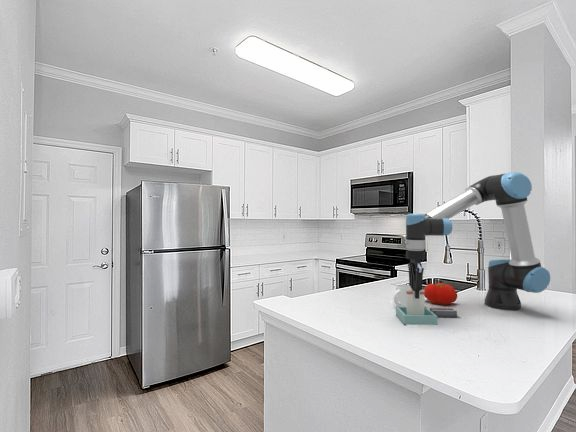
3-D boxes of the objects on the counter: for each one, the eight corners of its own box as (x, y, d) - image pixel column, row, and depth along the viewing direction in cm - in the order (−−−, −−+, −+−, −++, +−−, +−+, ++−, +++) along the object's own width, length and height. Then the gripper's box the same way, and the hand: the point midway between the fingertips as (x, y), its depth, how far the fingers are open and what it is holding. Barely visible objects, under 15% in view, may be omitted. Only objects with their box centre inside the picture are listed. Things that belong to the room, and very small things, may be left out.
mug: (400, 311, 150) (400, 289, 150) (387, 307, 157) (387, 286, 157) (417, 308, 156) (417, 286, 156) (404, 304, 163) (403, 283, 163)
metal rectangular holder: (453, 314, 146) (453, 306, 146) (461, 319, 138) (461, 311, 138) (426, 313, 147) (426, 306, 147) (432, 319, 139) (432, 311, 139)
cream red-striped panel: (423, 314, 138) (423, 289, 138) (424, 315, 136) (424, 289, 136) (406, 314, 138) (406, 288, 138) (407, 315, 137) (407, 289, 137)
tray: (425, 316, 143) (425, 307, 143) (437, 326, 130) (437, 316, 130) (395, 315, 144) (395, 306, 144) (404, 325, 131) (404, 315, 131)
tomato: (438, 298, 174) (438, 280, 174) (463, 306, 159) (463, 286, 159) (416, 300, 170) (416, 282, 170) (440, 309, 154) (440, 288, 154)
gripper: (401, 248, 145) (401, 300, 145) (411, 251, 130) (411, 309, 130) (418, 248, 144) (418, 300, 144) (430, 251, 130) (430, 310, 130)
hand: (415, 305), depth 137 cm, fingers closed on cream red-striped panel, 1 cm apart
